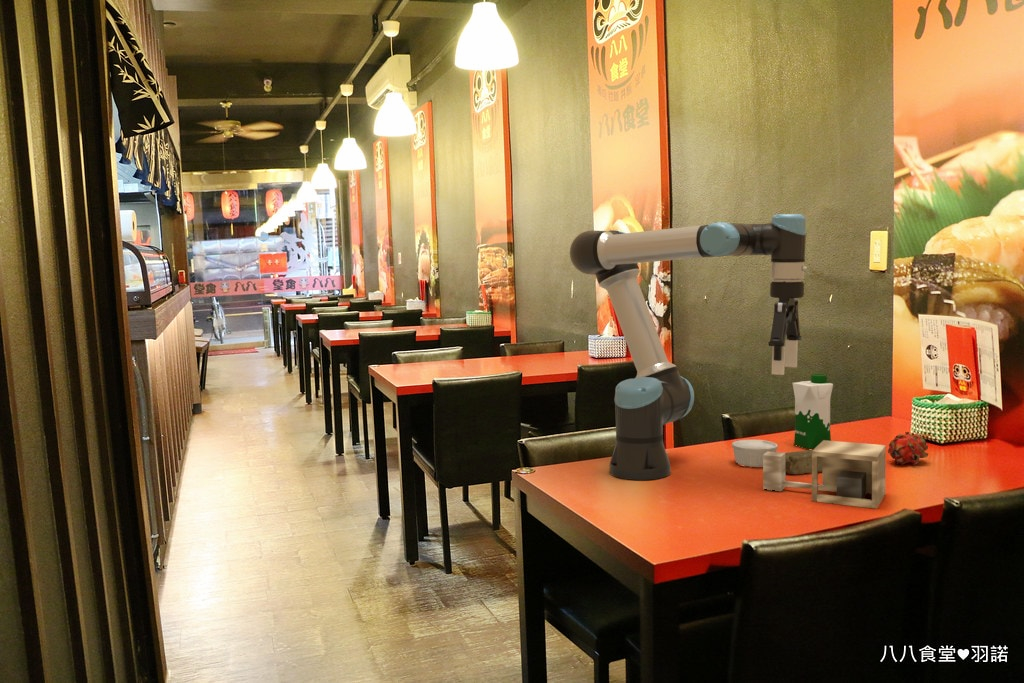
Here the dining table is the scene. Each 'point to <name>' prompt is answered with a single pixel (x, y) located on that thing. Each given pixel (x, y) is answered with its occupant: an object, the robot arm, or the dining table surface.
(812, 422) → the milk carton
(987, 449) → the dining table surface
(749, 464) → the ramekin
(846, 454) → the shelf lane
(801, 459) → the stone block
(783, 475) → the tethered block
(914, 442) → the dragon fruit
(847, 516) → the dining table surface
